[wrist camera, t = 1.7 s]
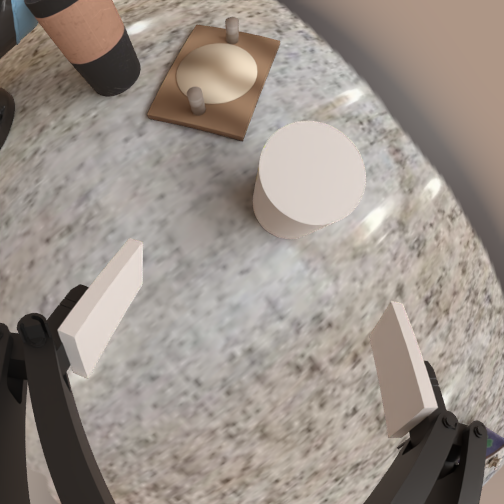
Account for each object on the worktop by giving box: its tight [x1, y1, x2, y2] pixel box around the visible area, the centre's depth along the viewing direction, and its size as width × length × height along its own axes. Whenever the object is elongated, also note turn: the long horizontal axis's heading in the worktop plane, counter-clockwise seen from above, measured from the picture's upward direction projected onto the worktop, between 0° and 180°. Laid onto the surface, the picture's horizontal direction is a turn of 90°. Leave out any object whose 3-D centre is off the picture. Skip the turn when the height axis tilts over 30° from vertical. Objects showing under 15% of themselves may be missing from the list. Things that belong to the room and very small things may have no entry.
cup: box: [253, 121, 366, 239], centre depth 27 cm, size 8×8×12 cm
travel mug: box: [24, 0, 140, 96], centre depth 23 cm, size 8×8×20 cm
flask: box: [458, 427, 504, 470], centre depth 28 cm, size 9×3×11 cm, turn 97°
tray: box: [147, 17, 280, 141], centre depth 31 cm, size 16×12×5 cm
